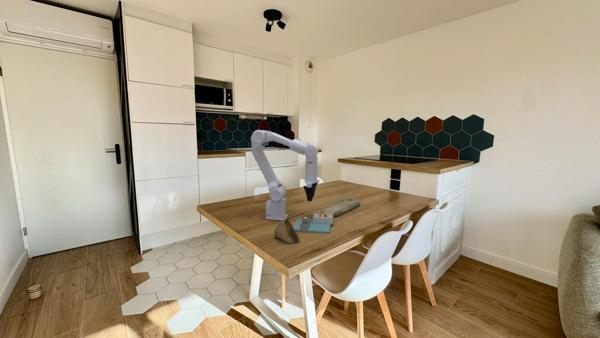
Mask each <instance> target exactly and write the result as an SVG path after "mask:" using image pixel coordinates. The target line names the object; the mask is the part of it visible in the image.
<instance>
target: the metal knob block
mask: <svg viewBox="0 0 600 338" xmlns="http://www.w3.org/2000/svg"><path fill="white" fill-rule="evenodd" d="M301 219H302V222H301V224H300V229H302V230H308V227H309V224H310V219H311V218H308V216H303V217H302V218H301Z"/></svg>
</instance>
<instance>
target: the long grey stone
mask: <svg viewBox="0 0 600 338" xmlns="http://www.w3.org/2000/svg"><path fill="white" fill-rule="evenodd" d="M360 205H361V201H360V200H359V199H355V198H350V197H340V200H339V201H338V202H337V203H336V204H334V205H331V206H329V207H326V208H325V209H321V211H320V212H319V214H333V218H334V217H337V216H341V215H343V214H347V213H349V211H351V210H352V211H353V210H354V209H356V208H358V206H360Z"/></svg>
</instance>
